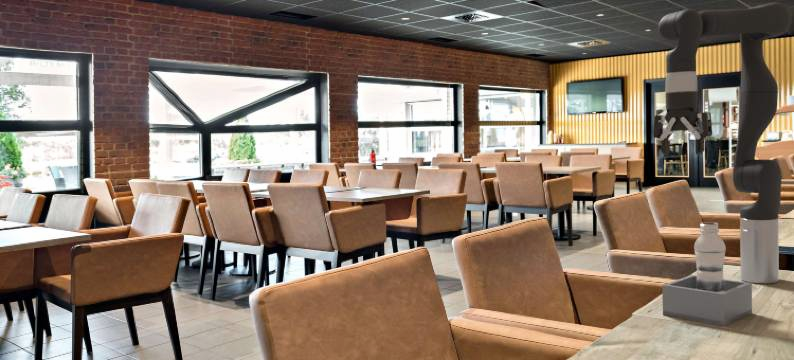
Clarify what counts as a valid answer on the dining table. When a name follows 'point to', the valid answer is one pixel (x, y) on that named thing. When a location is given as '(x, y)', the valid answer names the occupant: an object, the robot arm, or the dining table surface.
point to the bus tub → (707, 301)
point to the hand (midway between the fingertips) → (682, 154)
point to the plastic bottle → (709, 258)
